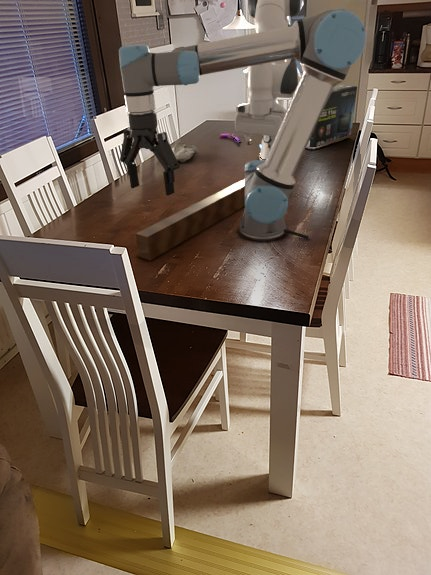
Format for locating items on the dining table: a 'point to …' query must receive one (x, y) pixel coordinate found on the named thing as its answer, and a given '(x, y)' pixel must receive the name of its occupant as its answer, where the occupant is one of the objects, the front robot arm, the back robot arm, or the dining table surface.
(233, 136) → the handgun
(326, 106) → the router box
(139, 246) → the bar
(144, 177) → the dining table surface
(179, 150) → the fossil
